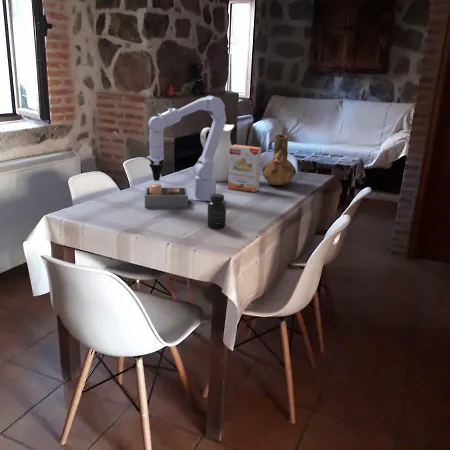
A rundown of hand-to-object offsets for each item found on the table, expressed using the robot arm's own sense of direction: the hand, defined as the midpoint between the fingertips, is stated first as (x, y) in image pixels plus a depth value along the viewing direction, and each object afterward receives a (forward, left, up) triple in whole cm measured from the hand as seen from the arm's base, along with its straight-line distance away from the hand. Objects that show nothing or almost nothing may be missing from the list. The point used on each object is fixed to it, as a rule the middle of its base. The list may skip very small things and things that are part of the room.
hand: (156, 178), depth 203 cm
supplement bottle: (-22, +34, -10) cm, 42 cm away
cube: (-7, +3, -9) cm, 12 cm away
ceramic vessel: (-60, -29, -10) cm, 67 cm away
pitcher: (-29, -39, -10) cm, 50 cm away
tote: (-4, +3, -10) cm, 11 cm away
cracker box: (-41, -20, -10) cm, 47 cm away
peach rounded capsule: (+1, +3, -9) cm, 10 cm away
